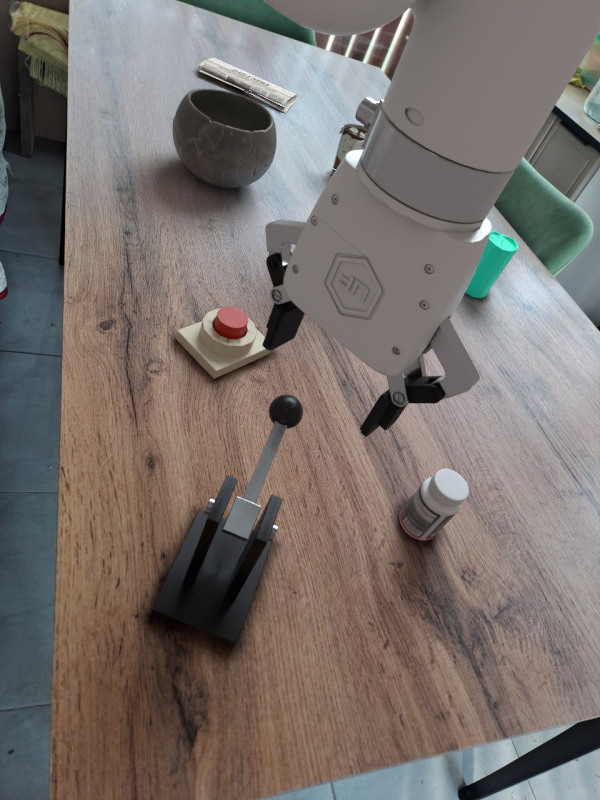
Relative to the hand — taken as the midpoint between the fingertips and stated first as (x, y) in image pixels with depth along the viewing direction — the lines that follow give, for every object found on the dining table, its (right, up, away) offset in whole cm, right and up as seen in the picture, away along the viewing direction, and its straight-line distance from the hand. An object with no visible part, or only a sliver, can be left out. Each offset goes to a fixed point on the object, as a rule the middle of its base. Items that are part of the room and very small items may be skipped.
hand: (324, 382), depth 42 cm
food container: (+10, +45, +78) cm, 91 cm away
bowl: (-17, +39, +62) cm, 75 cm away
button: (-11, +8, +31) cm, 34 cm away
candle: (+30, +19, +64) cm, 73 cm away
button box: (-12, +6, +33) cm, 36 cm away
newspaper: (-14, +73, +94) cm, 120 cm away
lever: (-5, -7, +7) cm, 11 cm away
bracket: (-10, -18, +12) cm, 24 cm away
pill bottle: (+12, -16, +24) cm, 31 cm away
